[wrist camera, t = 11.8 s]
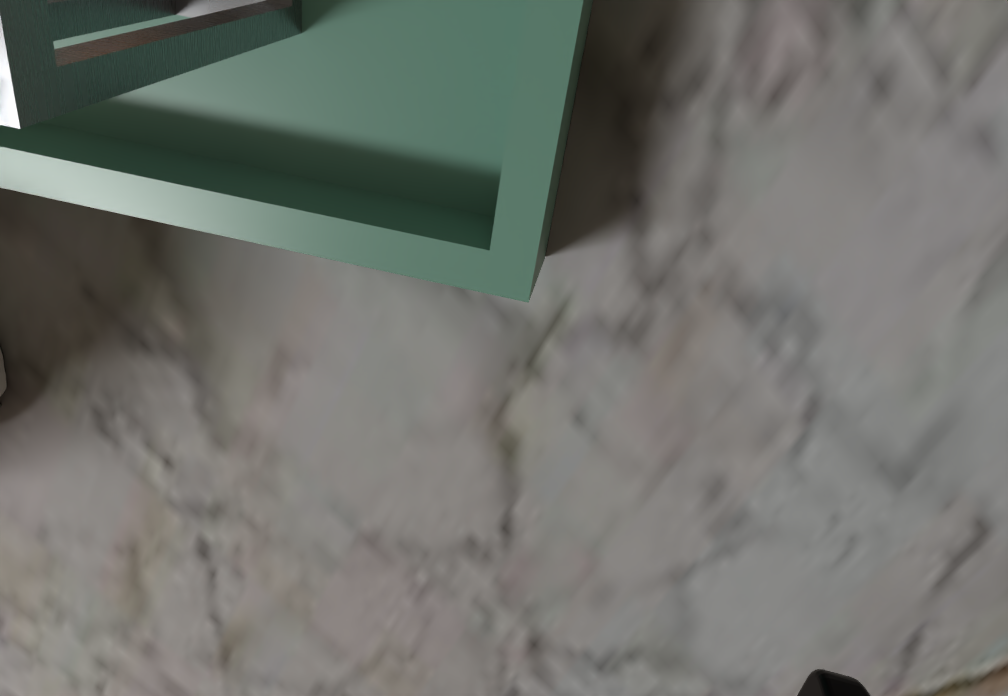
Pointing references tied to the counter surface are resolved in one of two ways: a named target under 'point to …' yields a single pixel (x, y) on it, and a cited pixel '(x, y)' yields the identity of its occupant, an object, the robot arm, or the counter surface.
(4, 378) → the mug
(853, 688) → the robot arm
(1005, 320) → the counter surface
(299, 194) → the tray
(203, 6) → the cage
